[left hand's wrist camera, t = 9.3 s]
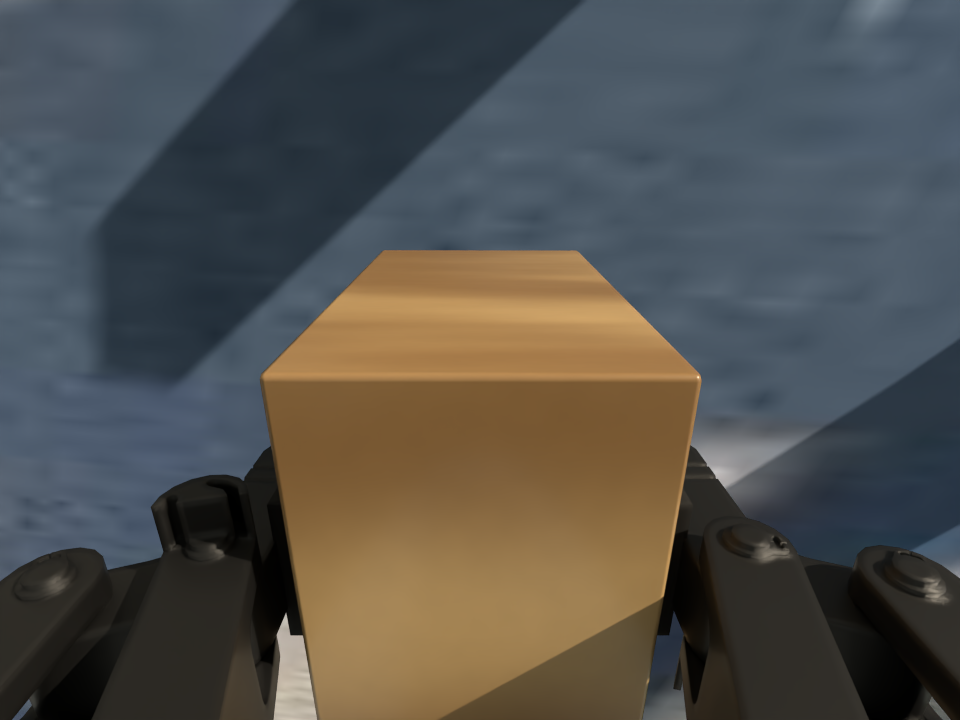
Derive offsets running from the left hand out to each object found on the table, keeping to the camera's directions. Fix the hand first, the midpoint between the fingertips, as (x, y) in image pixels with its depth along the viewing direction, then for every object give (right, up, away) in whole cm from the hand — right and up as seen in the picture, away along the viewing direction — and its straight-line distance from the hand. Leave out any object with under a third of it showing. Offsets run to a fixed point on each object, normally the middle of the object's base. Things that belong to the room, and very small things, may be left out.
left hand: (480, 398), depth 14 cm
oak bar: (0, -9, +4) cm, 10 cm away
